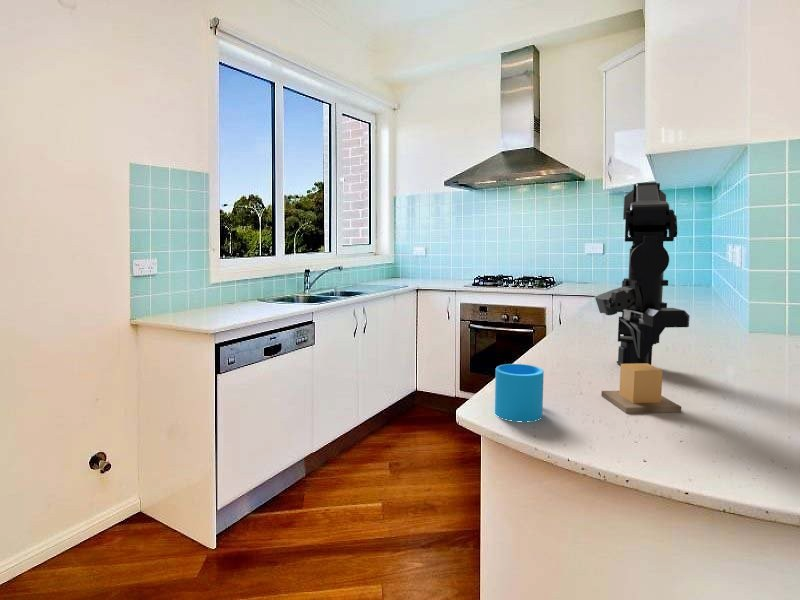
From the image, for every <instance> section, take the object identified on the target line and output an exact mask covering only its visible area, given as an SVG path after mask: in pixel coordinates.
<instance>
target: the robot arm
mask: <svg viewBox="0 0 800 600" xmlns="http://www.w3.org/2000/svg"><path fill="white" fill-rule="evenodd" d="M660 188H661V183H660V182H657V181H651V182H649V181H648V182H647V181H646V182H637V183H634V184H633V188H632V190H631V191H630V192H628V193H626V195H625V196H624V197H623V217H622V218H623V219H622V220H625V221H624V222H625V223H624V224H625V225H624V227H625V228H624V242H625V243H627V242H632V243H631V244H632V245H631V246H630V248H629V255H628V256H629V258H628V277H627V278H625V277H624V278H623V279H622V281H621V286H619V287H618V288H614V289H612V290H609V291H606V292H603V293H600V294H598V295H596V296H595V297H594V298H595V299H594V300H595V302H596V305H597V308H598V311H599V313H600V314H604V315H606V316H614V315H616V314H618V313H621V316H618V327H617V328H618V329H617V342H619V343H620V346H618V350H617V351H618V353H617V356H618V357H617V361H616V364H618V365H619V366H621V364H637V363H648V364H650V365H652V358H653V357H652V356H653V346H654V345H657V344H660V338H661V337H660V336H661V334H662V333H663V332H664V330H665V329H666V328H689V327H690V318H691V317H690V315H689V313H688V312H687V311H686V310H685V309H680V308H676V307H668V302H663V290H664V287H668V286H669V280H668V279H664V274H665V273H664V272H665V271H666V270H667V268H668V266H669V264H670V255H669V253H668V251H667V250H666V248H665V247H664V243H665V242H674V239H675V238H677V236H678V218H677V217H678V216H677V214H675V210H674V209H670V204H669V203H668V201H667V194H666V193H665V192H664V191H662V190H661V189H660Z"/></svg>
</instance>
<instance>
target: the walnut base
mask: <svg viewBox="0 0 800 600" xmlns="http://www.w3.org/2000/svg"><path fill="white" fill-rule="evenodd" d="M619 391H620V390H601V392H600V393H601V397H602V398H604V399H605V400H606V401H608V402H609V403H611V404H612V405H613V406H614V407H617V408H618V409H619V410H620V411H622V412H624V413H625V414H641V413H642V414H643V413H647V414H648V413H649V414H651V413H657V414H658V413H682V406H681V405H679V404H677V403H676V402H674V401H673V400H671V399H668V398H667V397H665V396H663V395H661V402H656V403H632V402H631V401H629V400H627V399H626V398H624V397H623V396H621V395H620V394H619Z"/></svg>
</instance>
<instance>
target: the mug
mask: <svg viewBox="0 0 800 600" xmlns="http://www.w3.org/2000/svg"><path fill="white" fill-rule="evenodd" d="M544 372H545V371H544V370H543V368H541V367H539V366H535V365H531V364H524V363H507V364H500V365H498V366H496V368H495V377H494V378H495V385H494V386H495V388H494V390H495V391H494V415H495V414H496V415H497V416H499V417H501V418H503V419H507V420H512V421H522V422H527V421H535V420H538V419H540V418H541V419H542V418H543V404H544V402H543V400H544ZM496 415H495V416H496ZM497 416H496V417H497ZM503 419H502V420H503ZM541 419H540V420H541ZM538 421H539V420H538ZM535 422H536V421H535Z"/></svg>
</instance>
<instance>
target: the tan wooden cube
mask: <svg viewBox="0 0 800 600" xmlns="http://www.w3.org/2000/svg"><path fill="white" fill-rule="evenodd" d="M663 373H664V371H663V369H661V368H658V367H656V366H654V365H652V364H651V365H650V364H648V363H637V364H621V365H620V373H619V390H618V391H619V394H620V395H621V396H623V397H624V398H626V399H627V400H629V401H631V402H632V403H656V402H661V396H662V388H663V387H662V386H663Z"/></svg>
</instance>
